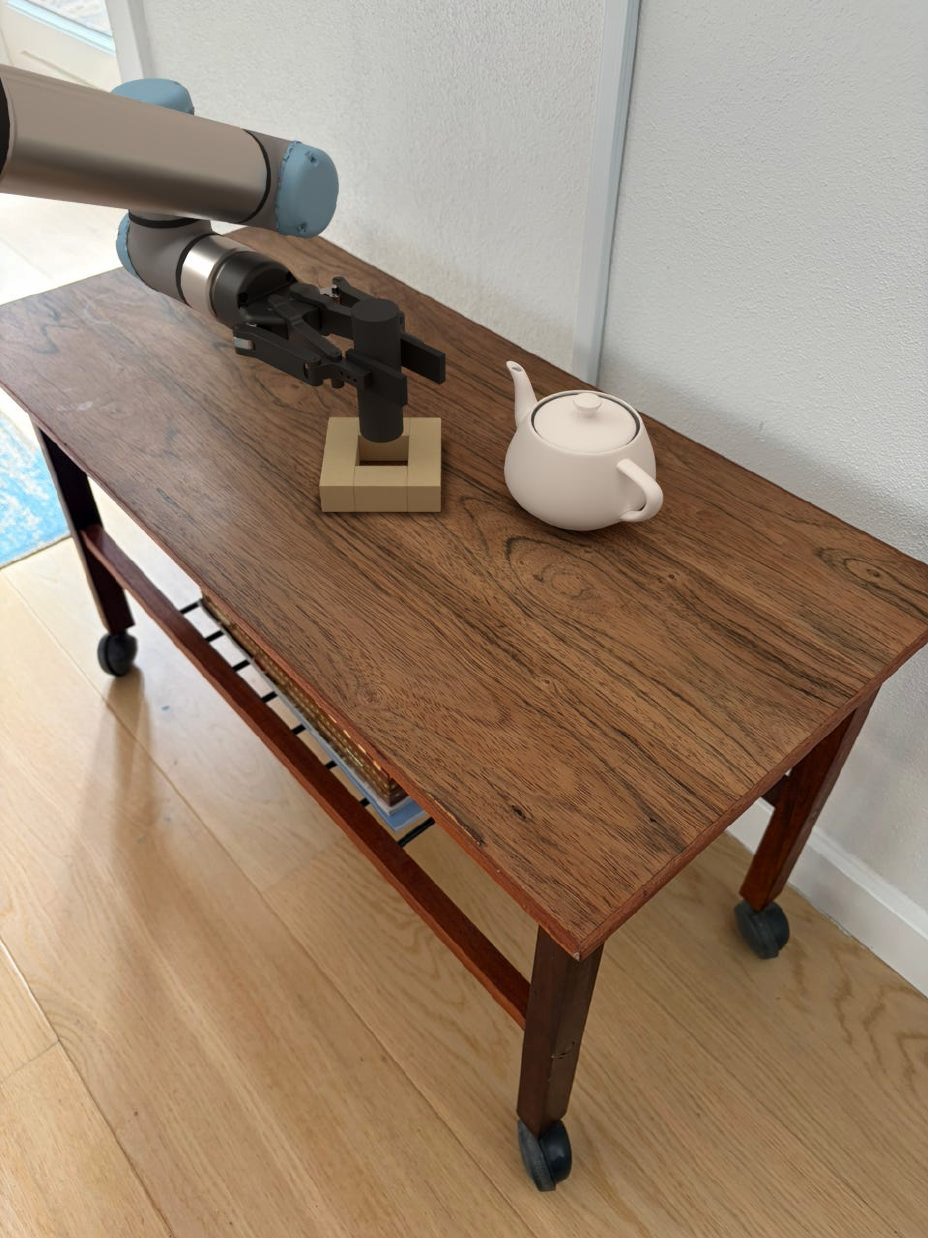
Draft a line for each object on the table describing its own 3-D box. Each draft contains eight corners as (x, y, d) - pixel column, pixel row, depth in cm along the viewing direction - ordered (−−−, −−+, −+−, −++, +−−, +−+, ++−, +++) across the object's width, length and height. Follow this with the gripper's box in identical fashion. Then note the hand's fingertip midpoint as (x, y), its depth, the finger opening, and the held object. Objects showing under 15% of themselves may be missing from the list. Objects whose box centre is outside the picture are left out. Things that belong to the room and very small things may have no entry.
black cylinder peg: (369, 447, 91) (361, 325, 83) (353, 423, 94) (344, 303, 85) (410, 436, 92) (406, 315, 84) (393, 413, 95) (388, 293, 87)
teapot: (707, 533, 91) (730, 432, 84) (586, 589, 86) (600, 487, 78) (559, 415, 104) (568, 319, 97) (446, 458, 99) (446, 359, 91)
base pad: (322, 511, 93) (319, 485, 91) (331, 442, 100) (329, 416, 98) (440, 512, 93) (440, 485, 91) (441, 442, 101) (441, 417, 99)
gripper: (312, 294, 103) (488, 378, 93) (176, 360, 94) (353, 462, 83) (305, 221, 98) (490, 302, 87) (159, 284, 89) (347, 382, 78)
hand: (423, 380), depth 85 cm, fingers closed on black cylinder peg, 4 cm apart
